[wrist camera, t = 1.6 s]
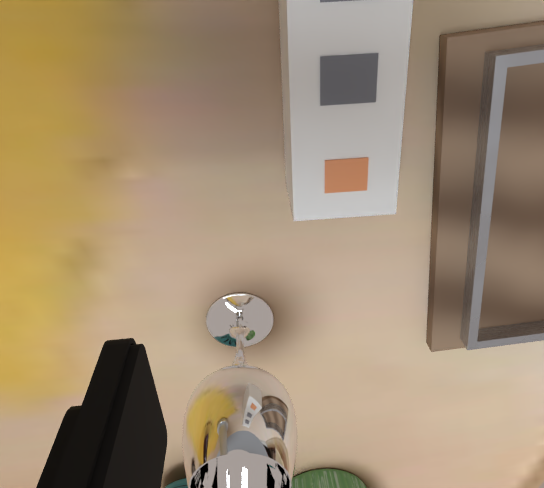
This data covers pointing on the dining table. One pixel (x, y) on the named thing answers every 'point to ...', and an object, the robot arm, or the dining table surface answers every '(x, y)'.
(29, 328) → the dining table surface
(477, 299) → the board
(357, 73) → the power strip
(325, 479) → the ramekin
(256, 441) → the wineglass
